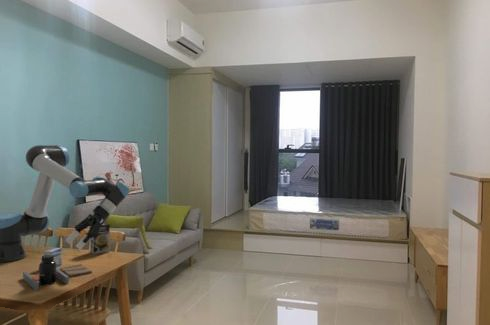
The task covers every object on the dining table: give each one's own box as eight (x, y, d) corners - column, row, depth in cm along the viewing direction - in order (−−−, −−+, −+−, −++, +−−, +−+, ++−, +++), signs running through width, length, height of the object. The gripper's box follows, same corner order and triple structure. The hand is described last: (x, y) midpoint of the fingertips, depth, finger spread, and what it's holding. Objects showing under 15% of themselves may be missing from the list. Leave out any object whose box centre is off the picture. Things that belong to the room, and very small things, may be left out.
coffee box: (93, 254, 220) (93, 226, 219) (90, 252, 225) (90, 224, 224) (109, 252, 226) (109, 224, 225) (105, 249, 231) (105, 222, 230)
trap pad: (29, 278, 179) (29, 277, 179) (50, 273, 186) (50, 273, 186) (32, 281, 175) (32, 280, 175) (54, 277, 181) (54, 276, 181)
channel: (23, 278, 179) (23, 272, 179) (54, 272, 188) (54, 266, 188) (35, 290, 164) (35, 283, 164) (68, 283, 173) (68, 276, 173)
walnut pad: (60, 270, 191) (60, 268, 191) (81, 266, 198) (81, 264, 198) (70, 277, 181) (70, 275, 181) (91, 272, 188) (91, 270, 188)
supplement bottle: (37, 286, 169) (37, 258, 169) (40, 280, 176) (40, 254, 176) (54, 284, 171) (54, 257, 171) (57, 279, 178) (57, 253, 177)
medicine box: (51, 269, 192) (51, 252, 192) (43, 268, 193) (43, 251, 193) (62, 264, 200) (61, 248, 200) (54, 264, 201) (54, 247, 201)
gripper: (120, 218, 183) (88, 255, 173) (99, 211, 201) (69, 244, 191) (109, 207, 179) (76, 245, 169) (88, 201, 197) (57, 235, 188)
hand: (72, 245), depth 180 cm, fingers open, 13 cm apart
